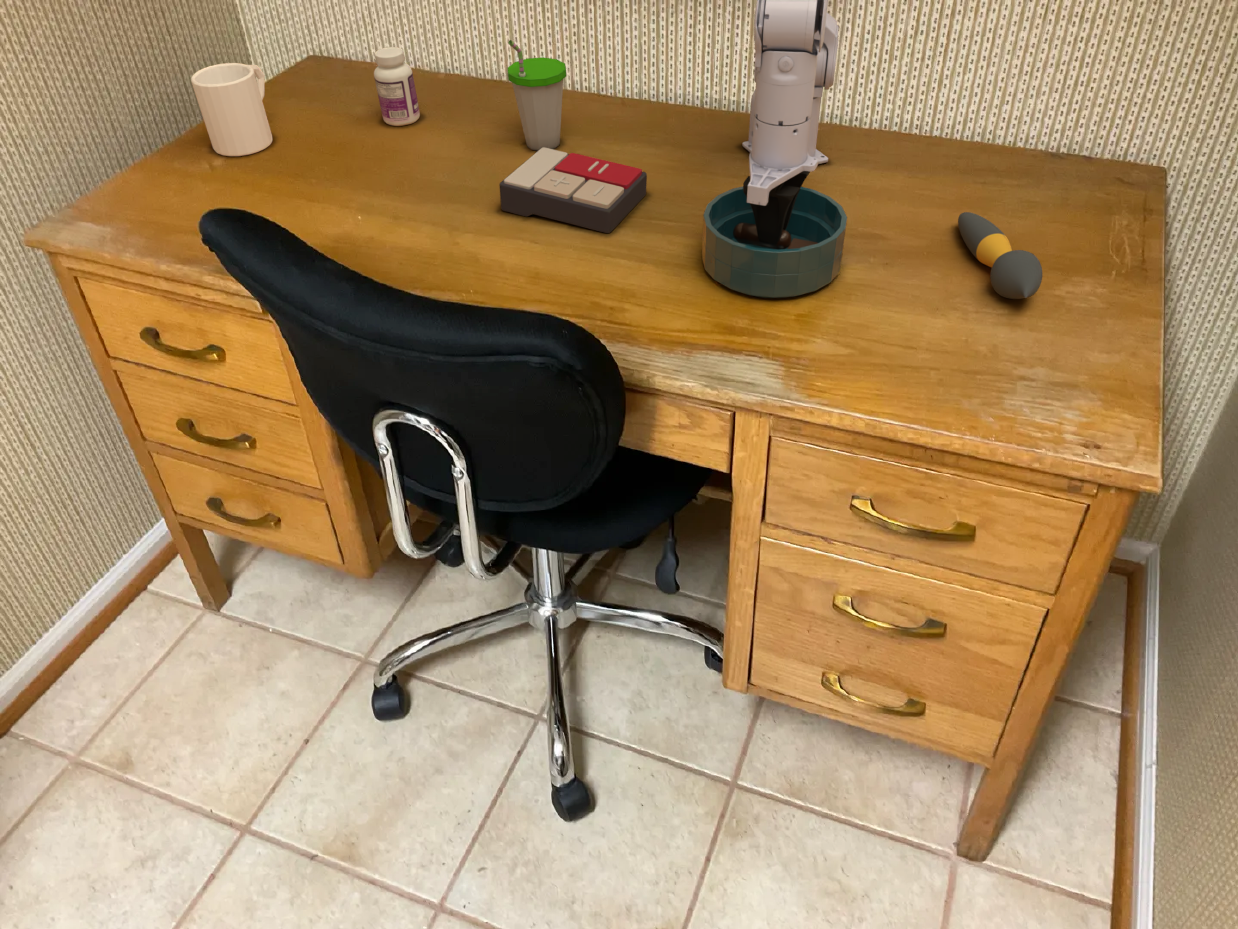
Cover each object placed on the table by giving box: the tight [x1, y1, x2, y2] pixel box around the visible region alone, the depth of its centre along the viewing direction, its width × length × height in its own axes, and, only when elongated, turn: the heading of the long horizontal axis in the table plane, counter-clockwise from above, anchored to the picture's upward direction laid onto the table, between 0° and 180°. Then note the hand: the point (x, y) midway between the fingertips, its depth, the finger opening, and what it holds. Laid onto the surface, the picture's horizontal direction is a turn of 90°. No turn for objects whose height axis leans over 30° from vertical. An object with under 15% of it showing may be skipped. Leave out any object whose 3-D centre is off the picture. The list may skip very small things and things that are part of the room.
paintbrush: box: [957, 211, 1043, 300], centre depth 105 cm, size 20×5×5 cm, turn 10°
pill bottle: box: [373, 46, 421, 127], centre depth 138 cm, size 5×5×10 cm
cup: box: [507, 39, 567, 152], centre depth 129 cm, size 8×8×15 cm
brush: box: [733, 223, 818, 250], centre depth 107 cm, size 9×3×2 cm, turn 66°
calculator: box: [499, 147, 648, 234], centre depth 119 cm, size 11×4×15 cm
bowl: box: [701, 185, 848, 299], centre depth 107 cm, size 15×15×6 cm
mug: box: [190, 62, 273, 157], centre depth 135 cm, size 8×12×10 cm
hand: (772, 235), depth 106 cm, fingers closed on brush, 2 cm apart
